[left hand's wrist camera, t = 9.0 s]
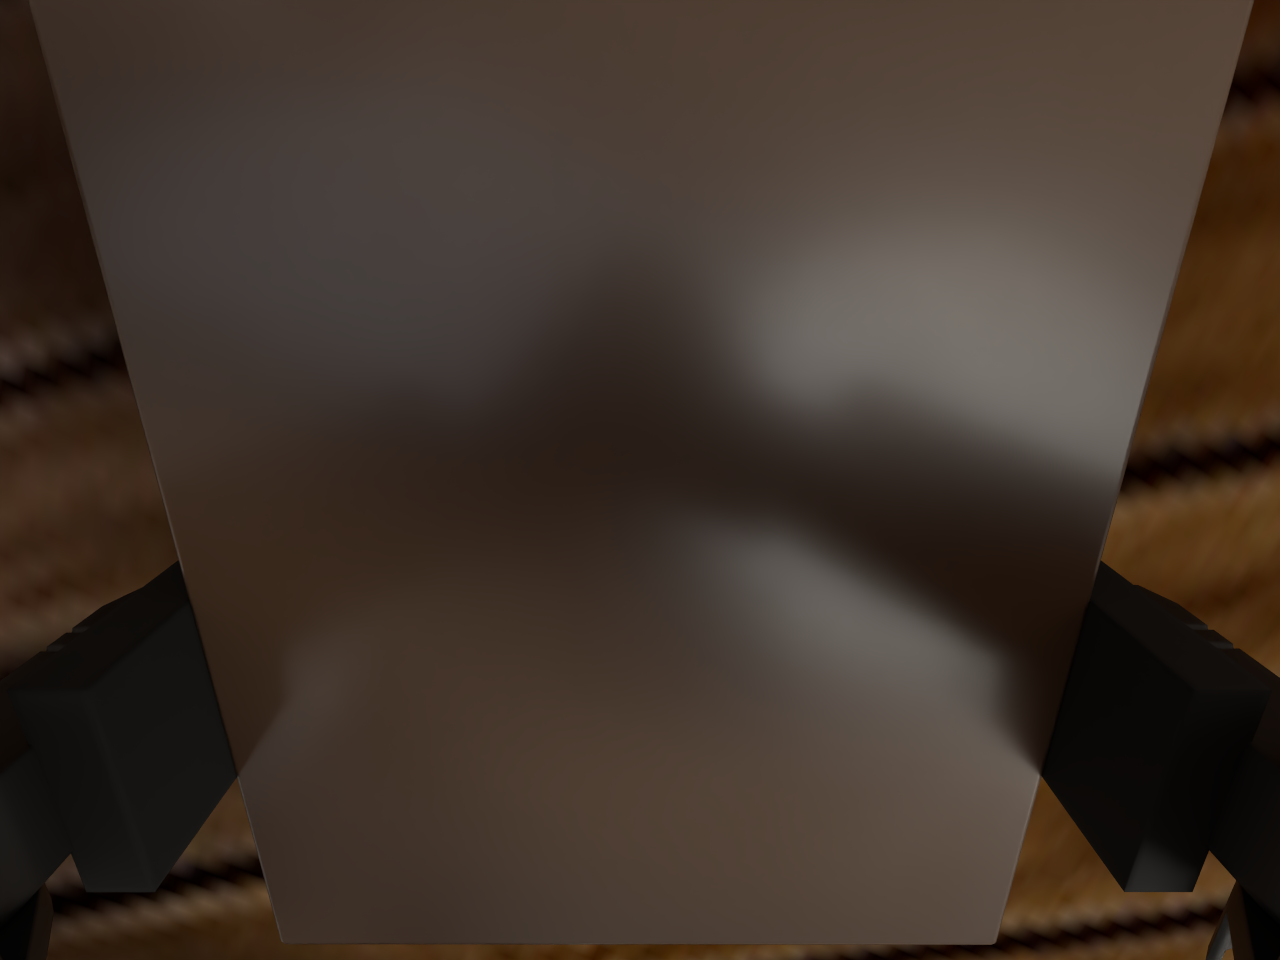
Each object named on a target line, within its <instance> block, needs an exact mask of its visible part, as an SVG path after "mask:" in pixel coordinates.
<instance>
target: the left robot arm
mask: <svg viewBox="0 0 1280 960" xmlns="http://www.w3.org/2000/svg"><path fill="white" fill-rule="evenodd" d="M236 777H237V775H236V771H235V767H234V764H233V760H232V756H231V753H230V749H229V745H228V741H227V738H226V734H225V730H224V727H223V723H222V719H221V715H220V712H219V708H218V704H217V701H216V697H215V693H214V689H213V686H212V682H211V678H210V675H209V671H208V667H207V663H206V660H205V656H204V652H203V649H202V645H201V641H200V637H199V634H198V630H197V626H196V623H195V619H194V615H193V611H192V608H191V604H190V600H189V597H188V593H187V589H186V585H185V582H184V578H183V574H182V571H181V567H180V563H179V560H178V561H177V562H176V563H174V564H173V565H172V566H170V567H169V568H168V569H166V570H165V571H164V572H162V573H161V574H160V575H158V576H157V577H156V578H154V579H153V580H152V581H150V582H149V583H148V584H146V585H145V586H144V587H142V588H140V589H138V590H136V591H134V592H132V593H130V594H127V595H125V596H123V597H121V598H119V599H117V600H115V601H113V602H110V603H108V604H106V605H104V606H102V607H101V608H99V609H98V610H97V611H95V612H94V613H93V614H91V615H90V616H88V617H87V618H86V619H84V620H83V621H82V622H80V623H79V624H78V625H76V626H75V627H73V628H72V633H65V634H64V635H63V636H61V637H60V638H58V639H57V640H56V641H54V642H53V643H52V644H50V645H49V646H47V651H46V652H39V653H38V654H37V655H35V656H34V657H32V658H31V659H30V660H28V661H27V662H26V663H24V664H23V665H22V666H20V667H19V668H17V669H16V670H15V671H13V672H12V673H11V674H9V675H8V676H6V677H5V678H4V679H2V680H1V681H0V960H46V958H47V951H48V945H49V939H50V933H51V927H52V920H53V914H54V911H53V906H52V900H51V896H50V894H49V892H48V889H47V887H46V885H45V882H46V880H47V879H48V878H49V877H50V876H51V875H52V874H53V872H54V871H55V870H56V869H57V868H58V867H59V866H60V865H61V863H62V862H63V861H64V860H65V859H66V858H67V857H68V856H69V854H70V853H71V854H72V857H73V859H74V862H75V864H76V867H77V869H78V872H79V874H80V877H81V879H82V882H83V884H84V887H85V889H86V892H155V891H156V890H157V888H158V887H159V885H160V884H161V883H162V881H163V880H164V878H165V877H166V876H167V874H168V873H169V871H170V870H171V869H172V867H173V866H174V864H175V863H176V862H177V860H178V859H179V857H180V856H181V855H182V853H183V852H184V850H185V849H186V848H187V846H188V845H189V843H190V842H191V840H192V839H193V838H194V836H195V835H196V833H197V832H198V831H199V829H200V828H201V826H202V825H203V824H204V822H205V821H206V819H207V818H208V817H209V815H210V814H211V812H212V811H213V810H214V808H215V807H216V805H217V804H218V803H219V801H220V800H221V798H222V797H223V796H224V794H225V793H226V791H227V790H228V789H229V787H230V786H231V784H232V783H233V782H234V780H235V779H236ZM1042 777H1043V779H1044V780H1045V781H1046V783H1047V784H1048V786H1049V787H1050V788H1051V790H1052V791H1053V793H1054V794H1055V795H1056V797H1057V798H1058V800H1059V801H1060V802H1061V804H1062V805H1063V807H1064V808H1065V809H1066V811H1067V812H1068V814H1069V815H1070V816H1071V818H1072V819H1073V821H1074V822H1075V823H1076V825H1077V826H1078V828H1079V829H1080V830H1081V832H1082V833H1083V835H1084V836H1085V837H1086V839H1087V840H1088V842H1089V843H1090V844H1091V846H1092V847H1093V849H1094V850H1095V851H1096V853H1097V854H1098V856H1099V857H1100V858H1101V860H1102V861H1103V863H1104V864H1105V865H1106V867H1107V868H1108V870H1109V871H1110V872H1111V874H1112V875H1113V877H1114V878H1115V879H1116V881H1117V882H1118V884H1119V885H1120V886H1121V888H1122V889H1123V891H1124V892H1193V889H1194V887H1195V884H1196V882H1197V879H1198V877H1199V874H1200V872H1201V869H1202V867H1203V864H1204V862H1205V859H1206V857H1207V854H1208V852H1209V850H1210V851H1211V853H1212V854H1213V855H1214V856H1215V857H1216V858H1217V859H1218V860H1219V861H1220V863H1221V864H1222V865H1223V866H1224V867H1225V868H1226V869H1227V870H1228V872H1229V873H1230V874H1231V875H1232V876H1233V877H1234V878H1235V879H1236V882H1235V885H1234V887H1233V889H1232V892H1231V894H1230V896H1229V899H1228V901H1227V904H1226V906H1225V908H1224V911H1223V913H1222V915H1221V918H1220V920H1219V922H1218V925H1217V927H1216V929H1215V932H1214V934H1213V936H1212V939H1211V941H1210V943H1209V946H1208V951H1207V956H1206V960H1221V959H1222V957H1223V955H1224V953H1225V951H1226V950H1228V949H1231V948H1232V949H1233V955H1234V960H1280V678H1279V677H1278V676H1276V675H1275V674H1274V673H1272V672H1271V671H1270V670H1268V669H1267V668H1265V667H1264V666H1263V665H1261V664H1260V663H1259V662H1257V661H1256V660H1254V659H1253V658H1252V657H1250V656H1249V655H1247V654H1246V653H1245V652H1243V651H1242V650H1241V649H1234V648H1233V644H1232V643H1231V642H1230V641H1228V640H1227V639H1225V638H1224V637H1223V636H1221V635H1220V634H1219V633H1217V632H1216V631H1214V630H1208V628H1207V625H1206V624H1205V623H1203V622H1202V621H1201V620H1199V619H1198V618H1197V617H1195V616H1194V615H1192V614H1191V613H1190V612H1188V611H1187V610H1186V609H1184V608H1183V607H1181V606H1180V605H1179V604H1177V603H1175V602H1173V601H1171V600H1169V599H1167V598H1164V597H1162V596H1160V595H1158V594H1156V593H1154V592H1152V591H1149V590H1147V589H1145V588H1143V587H1141V586H1139V585H1133V584H1131V583H1130V582H1129V581H1127V580H1126V579H1125V578H1123V577H1122V576H1121V575H1119V574H1118V573H1117V572H1115V571H1114V570H1113V569H1111V568H1110V567H1109V566H1107V565H1106V564H1105V563H1104V562H1102V561H1100V564H1099V568H1098V572H1097V575H1096V579H1095V583H1094V586H1093V590H1092V593H1091V597H1090V601H1089V604H1088V608H1087V612H1086V615H1085V619H1084V623H1083V626H1082V630H1081V634H1080V637H1079V641H1078V645H1077V648H1076V652H1075V656H1074V659H1073V663H1072V667H1071V670H1070V674H1069V677H1068V681H1067V685H1066V688H1065V692H1064V696H1063V699H1062V703H1061V707H1060V710H1059V714H1058V718H1057V721H1056V725H1055V729H1054V732H1053V736H1052V740H1051V743H1050V747H1049V750H1048V754H1047V758H1046V761H1045V765H1044V769H1043V772H1042Z"/></svg>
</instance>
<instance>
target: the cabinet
mask: <svg viewBox="0 0 1280 960" xmlns="http://www.w3.org/2000/svg"><path fill="white" fill-rule="evenodd" d="M1253 2H1254V0H28V3H29V6H30V10H31V14H32V17H33V21H34V25H35V29H36V32H37V36H38V40H39V43H40V47H41V51H42V55H43V58H44V62H45V66H46V69H47V73H48V77H49V81H50V84H51V88H52V92H53V95H54V99H55V103H56V107H57V110H58V114H59V118H60V121H61V125H62V129H63V132H64V136H65V140H66V144H67V147H68V151H69V155H70V158H71V162H72V166H73V170H74V173H75V177H76V181H77V184H78V188H79V192H80V196H81V199H82V203H83V207H84V210H85V214H86V218H87V222H88V225H89V229H90V233H91V236H92V240H93V244H94V248H95V251H96V255H97V259H98V262H99V266H100V270H101V274H102V277H103V281H104V285H105V288H106V292H107V296H108V300H109V303H110V307H111V311H112V314H113V318H114V322H115V326H116V329H117V333H118V337H119V340H120V344H121V348H122V352H123V355H124V359H125V363H126V366H127V370H128V374H129V378H130V381H131V385H132V389H133V392H134V396H135V400H136V404H137V407H138V411H139V415H140V418H141V422H142V426H143V430H144V433H145V437H146V441H147V444H148V448H149V452H150V456H151V459H152V463H153V467H154V470H155V474H156V478H157V482H158V485H159V489H160V493H161V496H162V500H163V504H164V508H165V511H166V515H167V519H168V522H169V526H170V530H171V534H172V537H173V541H174V545H175V548H176V552H177V556H178V559H179V563H180V567H181V571H182V574H183V578H184V582H185V585H186V589H187V593H188V597H189V600H190V604H191V608H192V611H193V615H194V619H195V623H196V626H197V630H198V634H199V637H200V641H201V645H202V649H203V652H204V656H205V660H206V663H207V667H208V671H209V675H210V678H211V682H212V686H213V689H214V693H215V697H216V701H217V704H218V708H219V712H220V715H221V719H222V723H223V727H224V730H225V734H226V738H227V741H228V745H229V749H230V753H231V756H232V760H233V764H234V767H235V771H236V775H237V779H238V782H239V786H240V790H241V793H242V797H243V801H244V805H245V808H246V812H247V816H248V819H249V823H250V827H251V831H252V834H253V838H254V842H255V845H256V849H257V853H258V857H259V860H260V864H261V868H262V871H263V875H264V879H265V883H266V886H267V890H268V894H269V897H270V901H271V905H272V909H273V912H274V916H275V920H276V923H277V927H278V931H279V935H280V938H281V941H282V942H283V943H285V944H835V945H991V944H994V943H995V942H996V940H997V937H998V933H999V929H1000V926H1001V922H1002V918H1003V915H1004V911H1005V907H1006V904H1007V900H1008V897H1009V893H1010V889H1011V886H1012V882H1013V878H1014V875H1015V871H1016V867H1017V864H1018V860H1019V856H1020V853H1021V849H1022V845H1023V842H1024V838H1025V834H1026V831H1027V827H1028V824H1029V820H1030V816H1031V813H1032V809H1033V805H1034V802H1035V798H1036V794H1037V791H1038V787H1039V783H1040V780H1041V776H1042V772H1043V769H1044V765H1045V761H1046V758H1047V754H1048V750H1049V747H1050V743H1051V740H1052V736H1053V732H1054V729H1055V725H1056V721H1057V718H1058V714H1059V710H1060V707H1061V703H1062V699H1063V696H1064V692H1065V688H1066V685H1067V681H1068V677H1069V674H1070V670H1071V667H1072V663H1073V659H1074V656H1075V652H1076V648H1077V645H1078V641H1079V637H1080V634H1081V630H1082V626H1083V623H1084V619H1085V615H1086V612H1087V608H1088V604H1089V601H1090V597H1091V593H1092V590H1093V586H1094V583H1095V579H1096V575H1097V572H1098V568H1099V564H1100V561H1101V557H1102V553H1103V550H1104V546H1105V542H1106V539H1107V535H1108V531H1109V528H1110V524H1111V520H1112V517H1113V513H1114V510H1115V506H1116V502H1117V499H1118V495H1119V491H1120V488H1121V484H1122V480H1123V477H1124V473H1125V469H1126V466H1127V462H1128V458H1129V455H1130V451H1131V447H1132V444H1133V440H1134V437H1135V433H1136V429H1137V426H1138V422H1139V418H1140V415H1141V411H1142V407H1143V404H1144V400H1145V396H1146V393H1147V389H1148V385H1149V382H1150V378H1151V374H1152V371H1153V367H1154V363H1155V360H1156V356H1157V353H1158V349H1159V345H1160V342H1161V338H1162V334H1163V331H1164V327H1165V323H1166V320H1167V316H1168V312H1169V309H1170V305H1171V301H1172V298H1173V294H1174V290H1175V287H1176V283H1177V280H1178V276H1179V272H1180V269H1181V265H1182V261H1183V258H1184V254H1185V250H1186V247H1187V243H1188V239H1189V236H1190V232H1191V228H1192V225H1193V221H1194V217H1195V214H1196V210H1197V206H1198V203H1199V199H1200V196H1201V192H1202V188H1203V185H1204V181H1205V177H1206V174H1207V170H1208V166H1209V163H1210V159H1211V155H1212V152H1213V148H1214V144H1215V141H1216V137H1217V133H1218V130H1219V126H1220V123H1221V119H1222V115H1223V112H1224V108H1225V104H1226V101H1227V97H1228V93H1229V90H1230V86H1231V82H1232V79H1233V75H1234V71H1235V68H1236V64H1237V60H1238V57H1239V53H1240V49H1241V46H1242V42H1243V39H1244V35H1245V31H1246V28H1247V24H1248V20H1249V17H1250V13H1251V9H1252V6H1253Z"/></svg>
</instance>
